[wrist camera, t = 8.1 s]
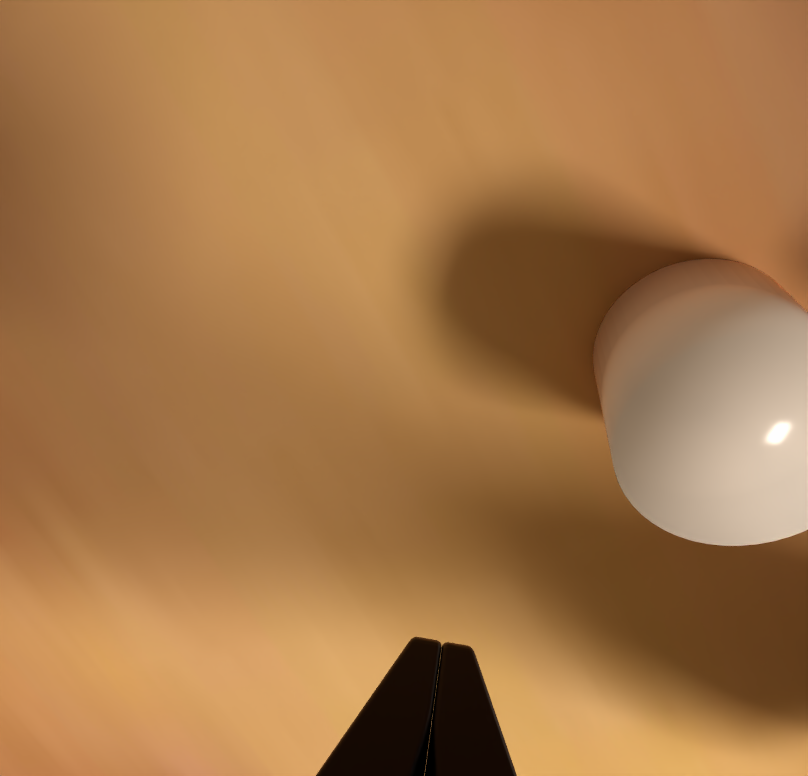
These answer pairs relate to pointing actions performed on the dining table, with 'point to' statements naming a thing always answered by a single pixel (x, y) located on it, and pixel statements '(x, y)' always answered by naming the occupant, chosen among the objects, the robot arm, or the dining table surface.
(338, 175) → the dining table surface
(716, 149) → the dining table surface
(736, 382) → the cream rounded cylinder
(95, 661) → the dining table surface
